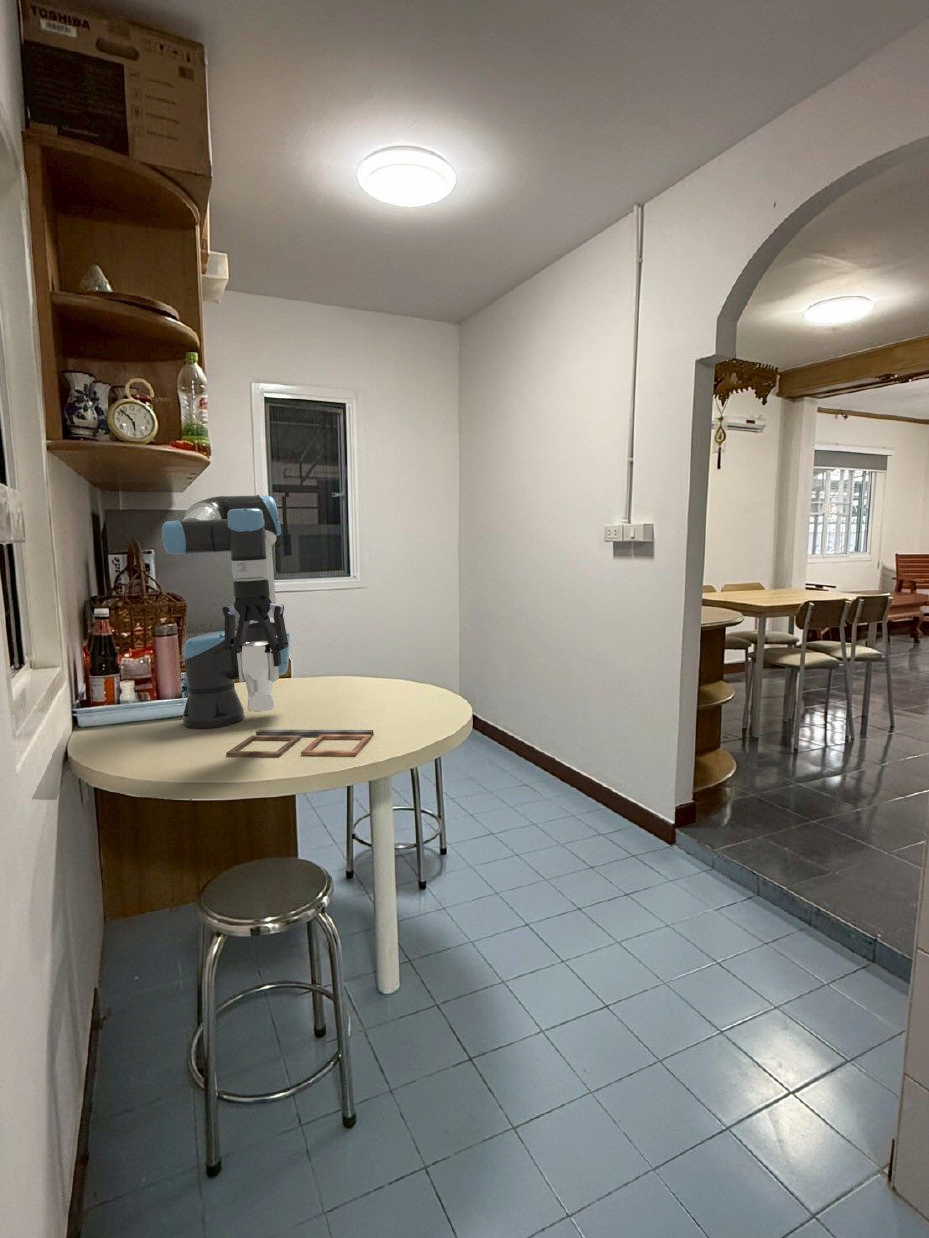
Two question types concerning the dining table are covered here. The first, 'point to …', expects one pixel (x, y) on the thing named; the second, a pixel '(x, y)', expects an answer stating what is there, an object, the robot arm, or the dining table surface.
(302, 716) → the dining table surface
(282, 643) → the robot arm
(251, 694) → the beer glass
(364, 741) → the double square frame
